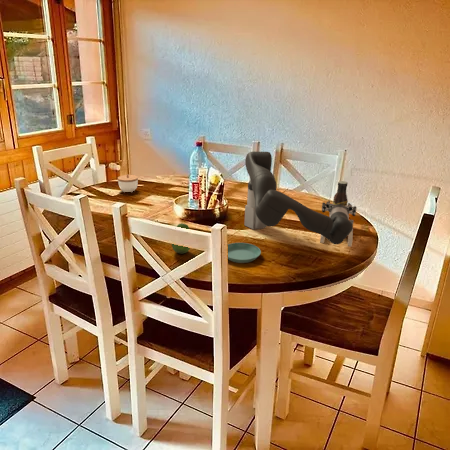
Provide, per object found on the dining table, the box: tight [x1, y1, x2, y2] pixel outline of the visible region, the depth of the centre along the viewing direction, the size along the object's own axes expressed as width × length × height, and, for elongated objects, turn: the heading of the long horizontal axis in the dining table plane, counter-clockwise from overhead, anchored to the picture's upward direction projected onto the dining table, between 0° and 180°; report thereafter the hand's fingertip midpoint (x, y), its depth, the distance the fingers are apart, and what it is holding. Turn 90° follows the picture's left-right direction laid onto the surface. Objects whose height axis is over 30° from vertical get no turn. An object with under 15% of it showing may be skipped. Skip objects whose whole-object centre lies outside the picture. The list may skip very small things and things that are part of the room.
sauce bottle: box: [332, 180, 349, 206], centre depth 185 cm, size 7×6×20 cm
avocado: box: [171, 222, 191, 255], centre depth 157 cm, size 8×8×12 cm
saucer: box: [227, 242, 262, 264], centre depth 157 cm, size 15×15×3 cm
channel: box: [319, 219, 355, 248], centre depth 177 cm, size 18×12×5 cm
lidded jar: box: [117, 174, 139, 193], centre depth 229 cm, size 11×11×9 cm
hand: (338, 203), depth 184 cm, fingers open, 8 cm apart
